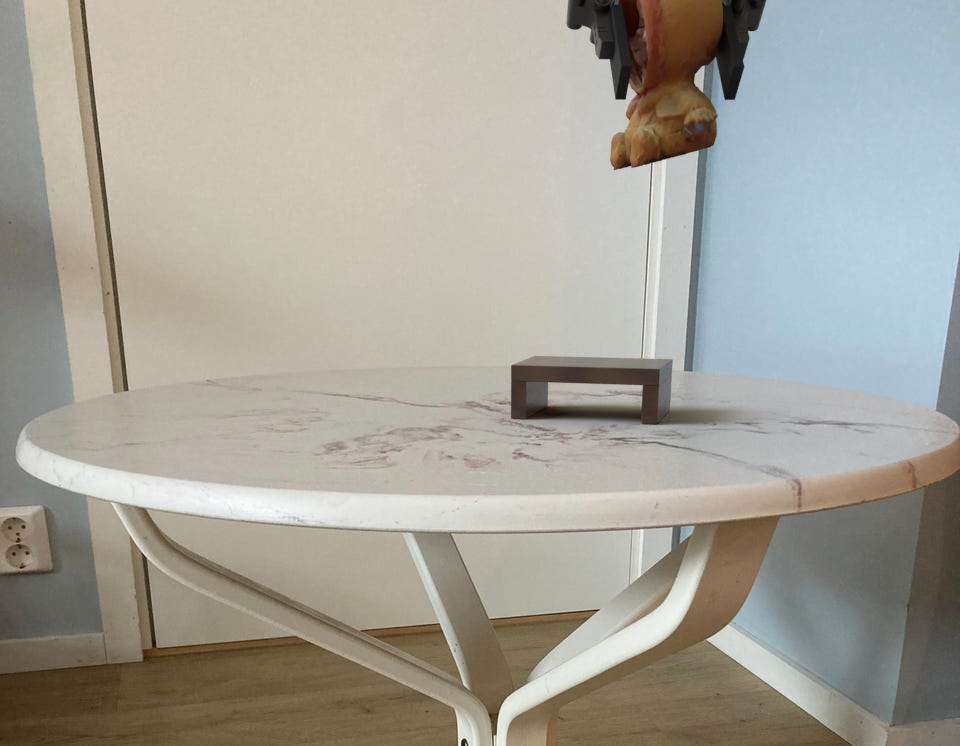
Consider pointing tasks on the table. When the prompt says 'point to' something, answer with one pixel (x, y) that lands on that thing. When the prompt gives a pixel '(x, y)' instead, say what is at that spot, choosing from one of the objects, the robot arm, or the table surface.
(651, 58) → the figurine
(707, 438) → the table surface
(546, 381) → the shelf
